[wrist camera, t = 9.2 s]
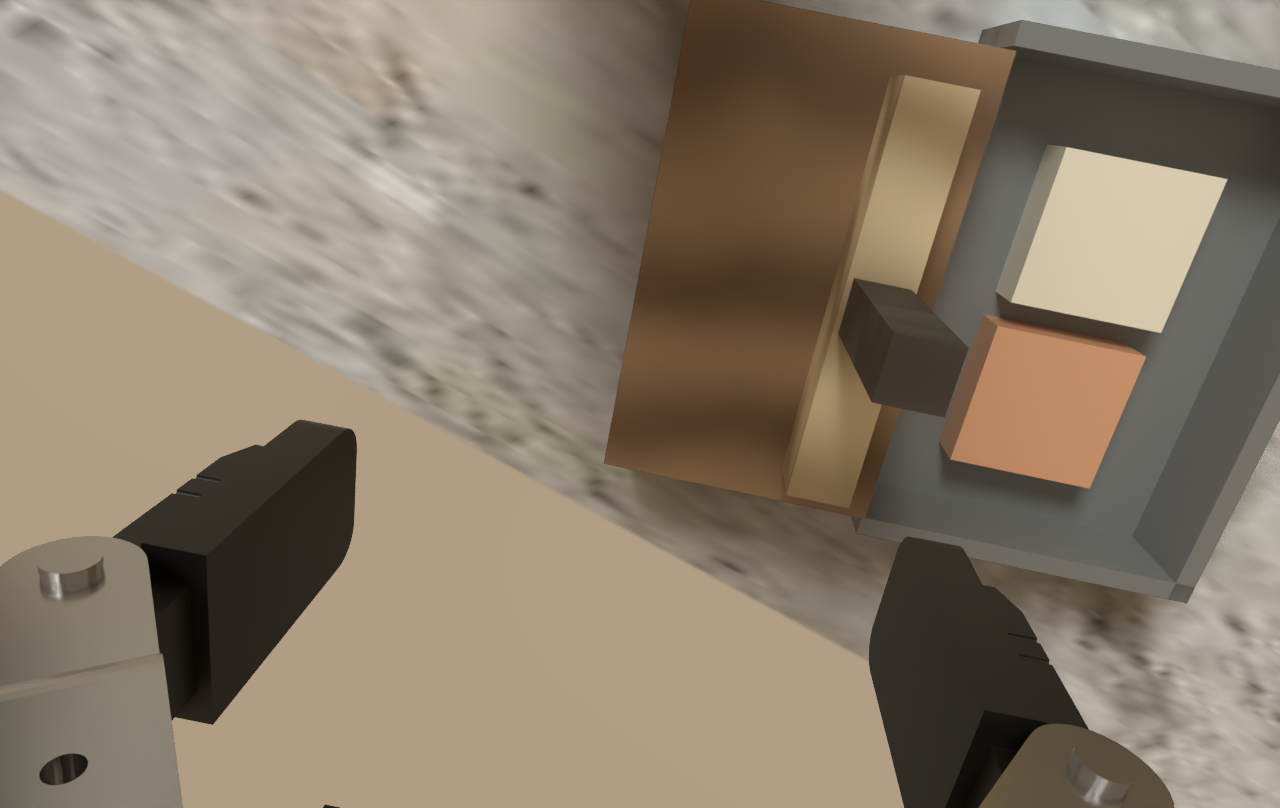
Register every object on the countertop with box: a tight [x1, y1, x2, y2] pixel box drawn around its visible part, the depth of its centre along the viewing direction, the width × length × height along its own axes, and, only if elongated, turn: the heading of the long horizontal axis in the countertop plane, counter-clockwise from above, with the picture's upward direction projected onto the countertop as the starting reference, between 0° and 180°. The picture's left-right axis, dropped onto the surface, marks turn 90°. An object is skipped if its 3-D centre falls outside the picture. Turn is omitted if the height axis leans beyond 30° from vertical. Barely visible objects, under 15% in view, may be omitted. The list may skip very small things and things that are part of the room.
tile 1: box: [939, 314, 1146, 489], centre depth 35 cm, size 6×6×2 cm
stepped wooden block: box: [604, 0, 1016, 519], centre depth 33 cm, size 18×11×5 cm, turn 169°
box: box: [851, 20, 1280, 603], centre depth 33 cm, size 20×14×4 cm
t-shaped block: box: [782, 75, 981, 508], centre depth 26 cm, size 15×2×10 cm, turn 169°
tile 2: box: [996, 144, 1228, 333], centre depth 33 cm, size 6×6×2 cm
